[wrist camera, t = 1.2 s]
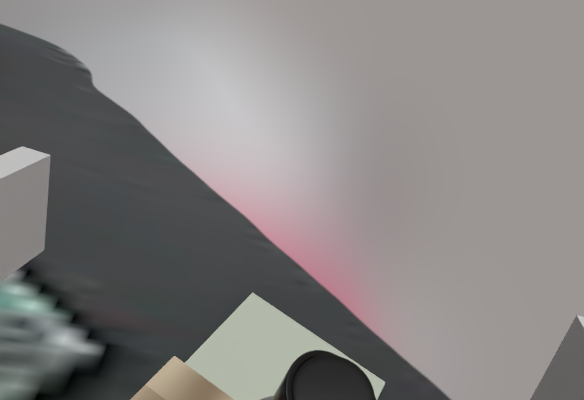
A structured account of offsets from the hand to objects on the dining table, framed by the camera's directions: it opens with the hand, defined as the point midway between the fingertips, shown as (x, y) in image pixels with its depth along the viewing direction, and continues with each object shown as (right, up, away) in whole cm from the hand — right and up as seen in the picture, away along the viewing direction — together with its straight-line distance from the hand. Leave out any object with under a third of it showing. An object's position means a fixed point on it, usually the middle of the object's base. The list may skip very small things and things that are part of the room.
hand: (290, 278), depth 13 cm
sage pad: (0, -13, +31) cm, 33 cm away
